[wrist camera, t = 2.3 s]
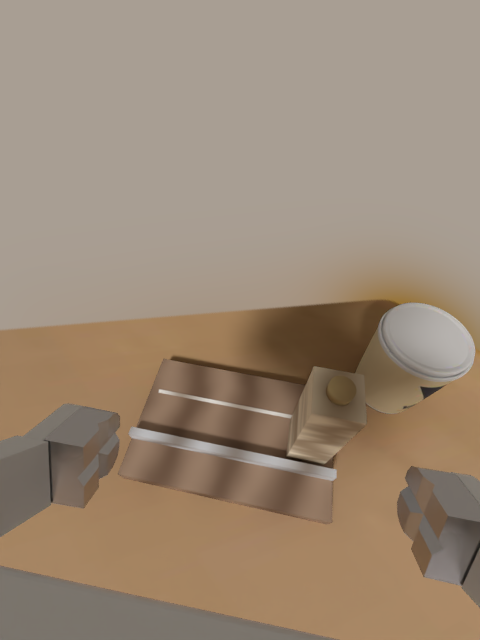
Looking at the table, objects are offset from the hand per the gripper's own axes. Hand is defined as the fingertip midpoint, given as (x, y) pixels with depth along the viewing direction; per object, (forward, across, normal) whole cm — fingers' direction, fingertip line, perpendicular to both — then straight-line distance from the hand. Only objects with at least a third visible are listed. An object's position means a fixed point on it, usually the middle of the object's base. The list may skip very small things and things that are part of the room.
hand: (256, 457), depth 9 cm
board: (+24, +1, +17) cm, 30 cm away
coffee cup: (+32, -17, +11) cm, 38 cm away
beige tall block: (+23, -7, +15) cm, 28 cm away
